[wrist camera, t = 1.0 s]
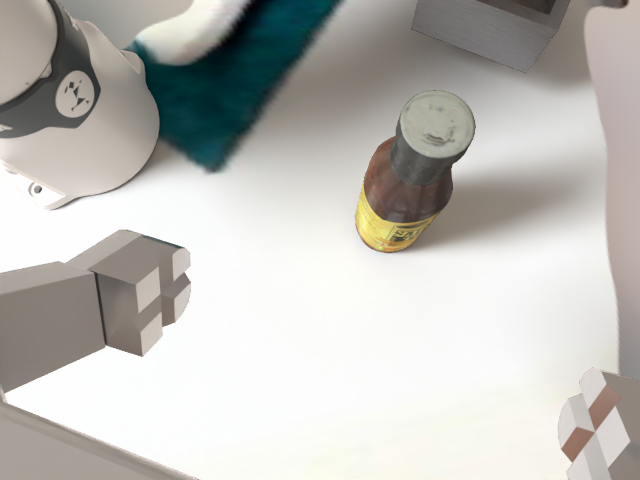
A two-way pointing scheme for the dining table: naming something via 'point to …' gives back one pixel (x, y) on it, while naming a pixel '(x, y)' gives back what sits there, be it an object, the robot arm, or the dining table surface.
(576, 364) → the dining table surface
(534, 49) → the open rectangular box
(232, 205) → the dining table surface
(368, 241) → the sauce bottle
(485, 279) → the dining table surface
